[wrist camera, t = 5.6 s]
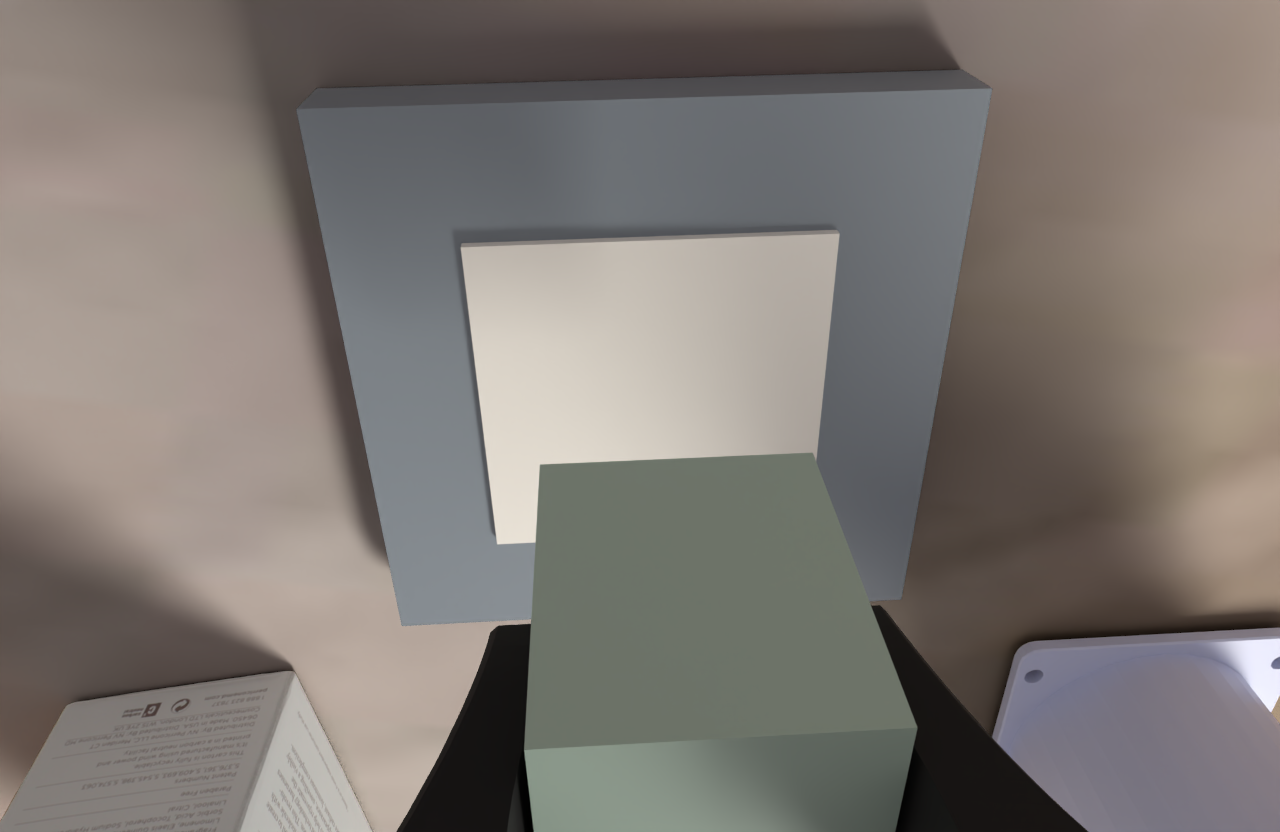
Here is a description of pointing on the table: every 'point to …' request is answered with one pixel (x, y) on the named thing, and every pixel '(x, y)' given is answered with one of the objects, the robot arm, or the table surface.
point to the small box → (189, 764)
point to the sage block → (706, 655)
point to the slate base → (639, 296)
